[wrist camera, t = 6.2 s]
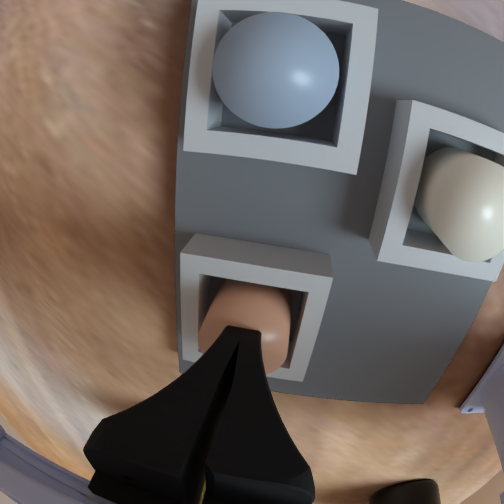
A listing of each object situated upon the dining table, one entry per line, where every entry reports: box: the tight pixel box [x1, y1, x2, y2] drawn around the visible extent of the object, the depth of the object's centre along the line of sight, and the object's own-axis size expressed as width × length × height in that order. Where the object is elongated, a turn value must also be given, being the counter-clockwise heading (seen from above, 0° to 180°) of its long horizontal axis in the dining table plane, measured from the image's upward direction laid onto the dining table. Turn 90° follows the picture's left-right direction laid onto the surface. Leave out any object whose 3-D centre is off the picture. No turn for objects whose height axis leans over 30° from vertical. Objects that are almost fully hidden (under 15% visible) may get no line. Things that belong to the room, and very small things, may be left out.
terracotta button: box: [198, 279, 292, 375], centre depth 14 cm, size 4×4×3 cm
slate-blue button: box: [212, 12, 339, 129], centre depth 9 cm, size 4×4×3 cm
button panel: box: [175, 0, 504, 404], centre depth 13 cm, size 16×21×4 cm
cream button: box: [414, 147, 504, 262], centre depth 10 cm, size 4×4×3 cm
